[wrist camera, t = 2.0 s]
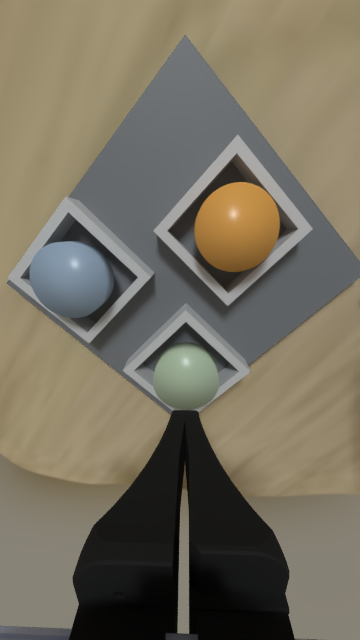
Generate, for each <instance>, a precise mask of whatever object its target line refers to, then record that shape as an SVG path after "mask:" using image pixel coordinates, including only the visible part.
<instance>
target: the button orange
mask: <svg viewBox="0 0 360 640" xmlns="http://www.w3.org/2000/svg"><path fill="white" fill-rule="evenodd" d="M279 229H280V217H279V212H278V209H277V206H276V204H275V202H274V200H273V199H272V197H271V196H270V195H269V194H268V193H267V192H266V191H265V190H264V189H262V188H261V187H259V186H257V185H254V184H252V183H247V182H235V183H230V184H227V185H224V186H222V187H220V188H219V189H217V190H216V191H214V192H213V193H212V194H211V195H210V196H209V197H208V198H207V199H206V200H205V201H204V203H203V205H202V206H201V208H200V210H199V212H198V214H197V217H196V220H195V225H194V236H195V241H196V244H197V247H198V249H199V251H200V253H201V254H202V256H203V257H204V258H205V259H206V261H208V262H209V263H210V264H211V265H212V266H214V267H216V268H218V269H220V270H223V271H227V272H241V271H245V270H248V269H251V268H253V267H255V266H256V265H258V264H259V263H261V262H262V261H263V260H264V259H265V258H266V257H267V256H268V255H269V254H270V252H271V251H272V249H273V248H274V246H275V243H276V241H277V238H278V235H279Z"/></svg>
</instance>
